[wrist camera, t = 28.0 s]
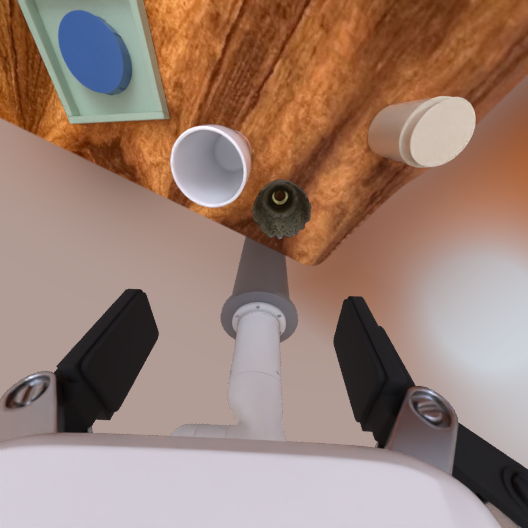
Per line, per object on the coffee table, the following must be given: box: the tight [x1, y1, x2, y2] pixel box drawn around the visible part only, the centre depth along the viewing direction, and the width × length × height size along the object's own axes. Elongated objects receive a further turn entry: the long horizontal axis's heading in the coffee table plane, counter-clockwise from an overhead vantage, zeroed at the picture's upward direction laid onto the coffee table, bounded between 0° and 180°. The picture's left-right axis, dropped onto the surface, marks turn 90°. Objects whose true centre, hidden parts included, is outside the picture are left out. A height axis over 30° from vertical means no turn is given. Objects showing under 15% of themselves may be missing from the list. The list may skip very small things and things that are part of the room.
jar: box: [368, 96, 476, 168], centre depth 26 cm, size 6×6×11 cm
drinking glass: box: [171, 124, 252, 208], centre depth 26 cm, size 7×7×15 cm
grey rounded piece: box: [252, 179, 311, 239], centre depth 32 cm, size 8×7×8 cm
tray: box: [17, 0, 170, 124], centre depth 26 cm, size 13×13×2 cm
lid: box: [58, 10, 132, 95], centre depth 26 cm, size 7×7×2 cm
